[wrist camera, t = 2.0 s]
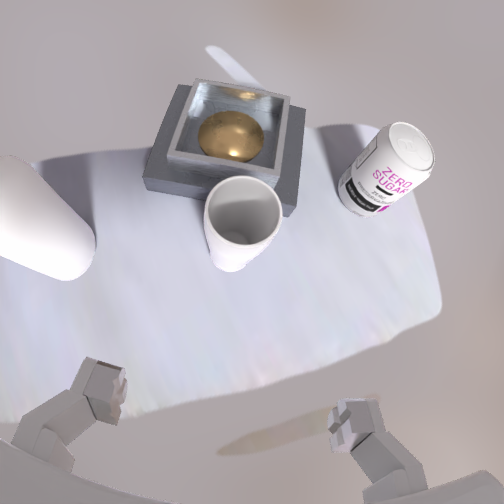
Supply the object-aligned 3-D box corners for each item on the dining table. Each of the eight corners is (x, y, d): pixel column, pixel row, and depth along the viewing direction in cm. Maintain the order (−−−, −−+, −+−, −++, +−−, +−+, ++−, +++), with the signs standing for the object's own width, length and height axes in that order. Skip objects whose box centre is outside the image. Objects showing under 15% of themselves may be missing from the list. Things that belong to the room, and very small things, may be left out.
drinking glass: (193, 252, 39) (186, 208, 25) (229, 217, 41) (243, 160, 27) (230, 289, 39) (245, 266, 24) (266, 253, 41) (299, 211, 26)
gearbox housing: (147, 190, 40) (137, 163, 33) (179, 100, 45) (177, 68, 37) (288, 217, 42) (304, 195, 35) (298, 123, 47) (312, 94, 40)
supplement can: (375, 173, 47) (425, 123, 32) (386, 219, 45) (446, 179, 30) (331, 170, 45) (376, 112, 31) (341, 219, 44) (396, 173, 29)
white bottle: (61, 211, 38) (-63, 73, 9) (108, 233, 38) (-17, 76, 9) (35, 266, 35) (-124, 177, 6) (81, 292, 36) (-98, 215, 7)
